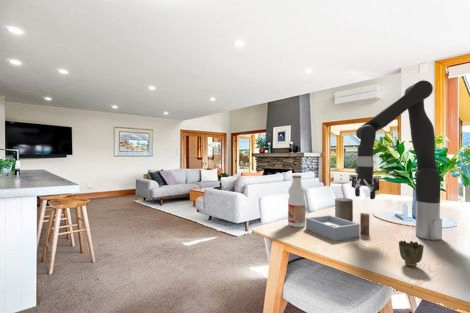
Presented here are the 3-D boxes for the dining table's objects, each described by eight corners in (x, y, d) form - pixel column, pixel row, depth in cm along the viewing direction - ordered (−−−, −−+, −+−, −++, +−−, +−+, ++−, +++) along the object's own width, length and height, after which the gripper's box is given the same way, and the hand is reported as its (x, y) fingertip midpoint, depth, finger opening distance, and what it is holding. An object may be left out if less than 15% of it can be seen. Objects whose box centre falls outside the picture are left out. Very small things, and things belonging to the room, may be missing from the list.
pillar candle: (356, 223, 149) (356, 197, 149) (346, 225, 143) (346, 198, 143) (341, 219, 157) (341, 195, 157) (331, 222, 151) (331, 196, 151)
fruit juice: (303, 228, 138) (303, 176, 137) (286, 226, 142) (286, 175, 142) (306, 224, 146) (307, 175, 146) (290, 222, 150) (290, 174, 150)
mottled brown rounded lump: (401, 268, 90) (401, 245, 90) (396, 260, 97) (396, 239, 97) (426, 271, 87) (426, 248, 87) (419, 263, 94) (420, 241, 94)
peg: (371, 234, 128) (371, 214, 128) (365, 235, 126) (365, 215, 126) (364, 232, 132) (364, 212, 131) (358, 233, 130) (358, 213, 130)
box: (359, 236, 125) (359, 224, 125) (334, 240, 118) (334, 227, 118) (329, 225, 143) (329, 215, 143) (306, 229, 137) (306, 218, 136)
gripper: (383, 166, 124) (382, 199, 124) (358, 164, 137) (358, 195, 137) (372, 166, 121) (372, 200, 121) (348, 164, 134) (347, 195, 134)
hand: (364, 197), depth 129 cm, fingers open, 8 cm apart
